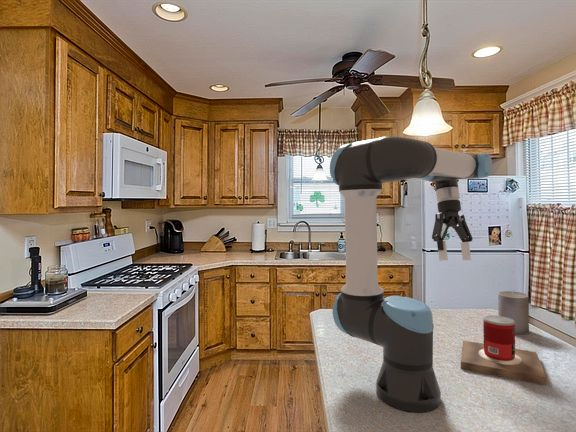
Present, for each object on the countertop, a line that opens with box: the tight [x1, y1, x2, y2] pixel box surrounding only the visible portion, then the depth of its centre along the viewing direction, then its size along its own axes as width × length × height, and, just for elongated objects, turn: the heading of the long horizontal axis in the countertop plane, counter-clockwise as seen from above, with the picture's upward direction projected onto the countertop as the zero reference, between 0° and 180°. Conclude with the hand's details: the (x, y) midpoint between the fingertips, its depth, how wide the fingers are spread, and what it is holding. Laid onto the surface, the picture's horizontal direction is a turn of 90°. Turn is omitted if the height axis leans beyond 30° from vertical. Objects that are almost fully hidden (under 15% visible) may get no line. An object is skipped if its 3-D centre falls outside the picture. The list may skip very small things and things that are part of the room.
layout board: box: [460, 340, 547, 386], centre depth 103 cm, size 20×18×2 cm
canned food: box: [482, 314, 516, 361], centre depth 103 cm, size 8×8×11 cm
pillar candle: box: [497, 290, 530, 335], centre depth 130 cm, size 10×10×15 cm
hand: (455, 260), depth 120 cm, fingers open, 13 cm apart
